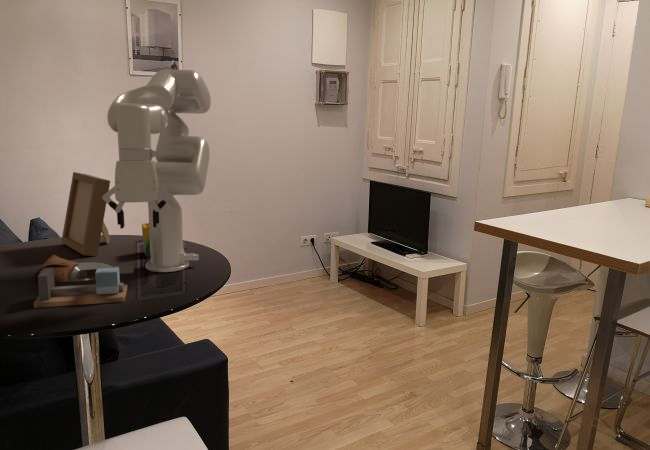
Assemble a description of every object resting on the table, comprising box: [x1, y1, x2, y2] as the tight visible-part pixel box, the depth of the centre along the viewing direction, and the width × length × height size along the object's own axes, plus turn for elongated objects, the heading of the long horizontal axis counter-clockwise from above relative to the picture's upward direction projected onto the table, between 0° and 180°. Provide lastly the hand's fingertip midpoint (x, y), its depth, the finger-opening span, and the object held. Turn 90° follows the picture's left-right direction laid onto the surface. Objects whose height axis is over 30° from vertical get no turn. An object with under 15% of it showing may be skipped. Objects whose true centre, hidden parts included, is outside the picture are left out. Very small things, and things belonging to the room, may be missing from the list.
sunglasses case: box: [34, 254, 80, 284], centre depth 151 cm, size 18×7×7 cm
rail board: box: [33, 282, 128, 309], centre depth 132 cm, size 20×10×3 cm, turn 106°
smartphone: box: [77, 266, 135, 280], centre depth 153 cm, size 7×1×15 cm
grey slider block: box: [94, 265, 121, 294], centre depth 133 cm, size 5×5×6 cm
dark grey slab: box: [37, 268, 56, 301], centre depth 129 cm, size 2×7×6 cm, turn 16°
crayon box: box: [141, 222, 151, 258], centre depth 172 cm, size 7×3×12 cm, turn 24°
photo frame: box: [60, 171, 111, 257], centre depth 177 cm, size 15×22×25 cm
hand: (138, 226), depth 132 cm, fingers open, 7 cm apart
